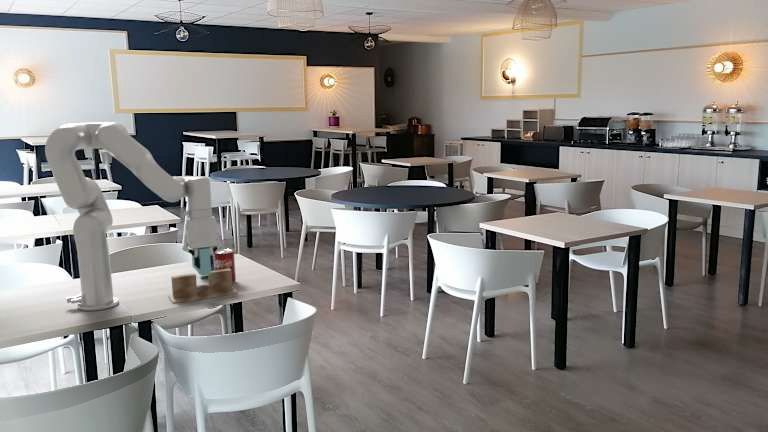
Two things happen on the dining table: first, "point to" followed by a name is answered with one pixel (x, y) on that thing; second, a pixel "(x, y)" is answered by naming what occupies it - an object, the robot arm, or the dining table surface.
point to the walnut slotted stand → (201, 286)
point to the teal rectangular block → (203, 261)
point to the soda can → (225, 261)
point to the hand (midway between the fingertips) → (203, 266)
